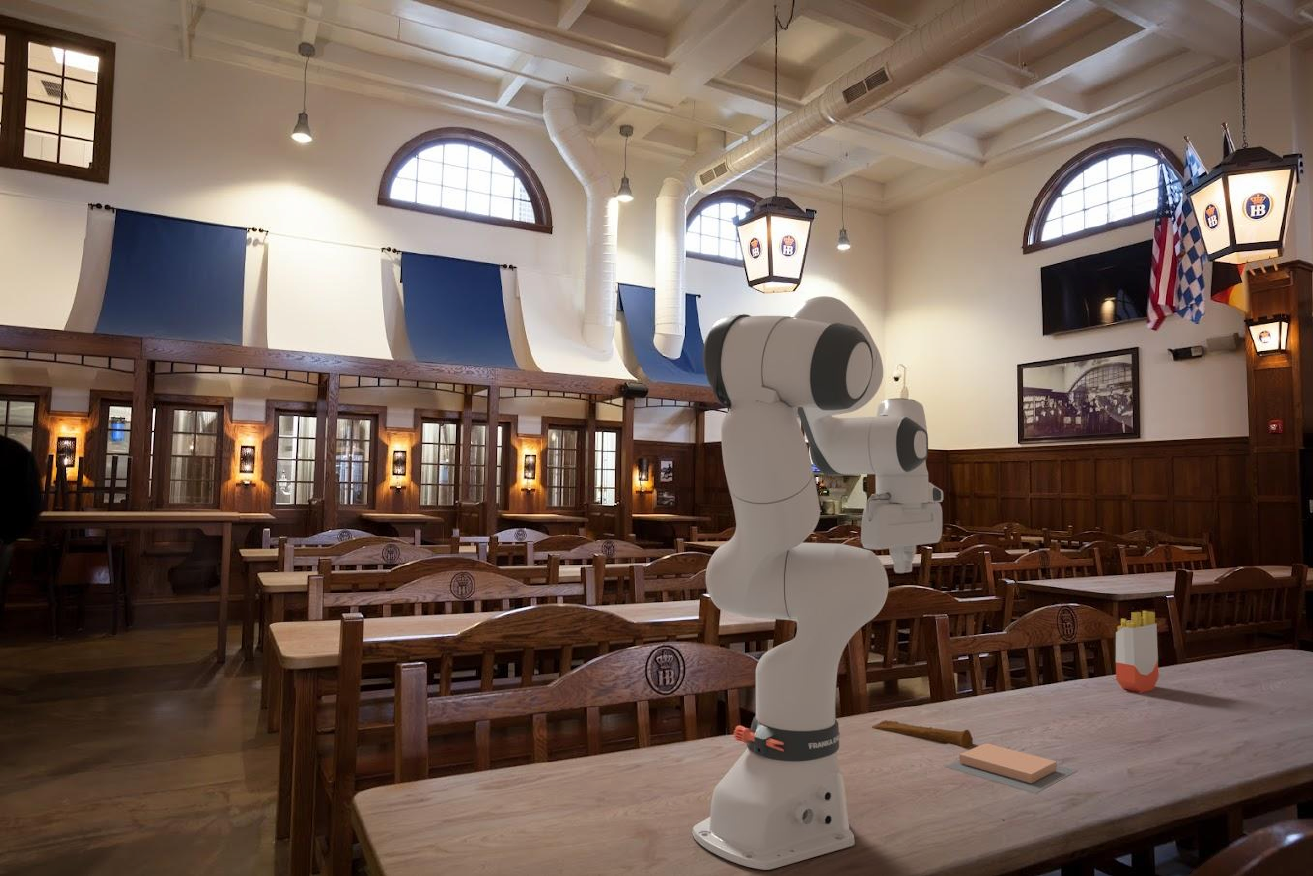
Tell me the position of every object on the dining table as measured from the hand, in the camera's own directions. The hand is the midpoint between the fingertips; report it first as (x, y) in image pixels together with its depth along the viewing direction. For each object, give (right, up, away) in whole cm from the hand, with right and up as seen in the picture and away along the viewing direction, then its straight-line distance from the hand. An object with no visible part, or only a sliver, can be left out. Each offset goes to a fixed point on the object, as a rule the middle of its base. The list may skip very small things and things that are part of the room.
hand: (903, 572), depth 137 cm
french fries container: (+69, -35, +46) cm, 90 cm away
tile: (+19, -30, -11) cm, 37 cm away
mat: (+16, -32, -7) cm, 36 cm away
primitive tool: (+7, -34, +12) cm, 36 cm away
